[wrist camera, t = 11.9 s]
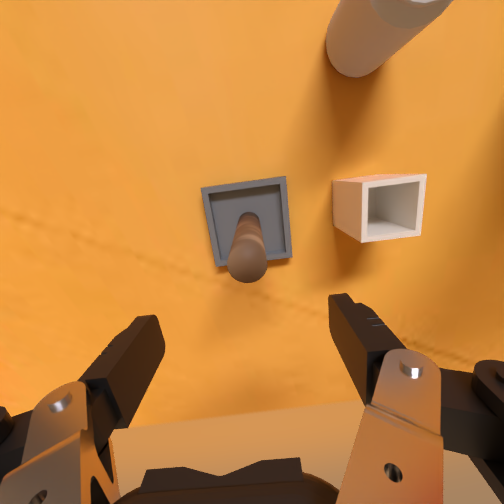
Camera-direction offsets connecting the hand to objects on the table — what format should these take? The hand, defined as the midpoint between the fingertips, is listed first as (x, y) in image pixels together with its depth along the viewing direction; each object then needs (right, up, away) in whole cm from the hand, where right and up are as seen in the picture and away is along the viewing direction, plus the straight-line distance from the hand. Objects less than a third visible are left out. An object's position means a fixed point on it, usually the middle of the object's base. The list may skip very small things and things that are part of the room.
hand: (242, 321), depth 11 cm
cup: (+15, +10, +21) cm, 28 cm away
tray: (0, +7, +22) cm, 24 cm away
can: (+12, +27, +16) cm, 34 cm away
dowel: (0, +7, +22) cm, 23 cm away
